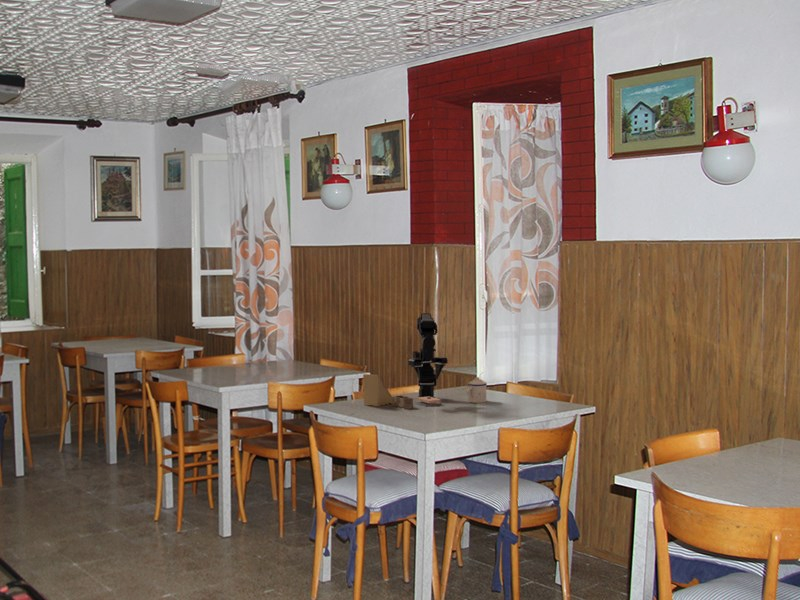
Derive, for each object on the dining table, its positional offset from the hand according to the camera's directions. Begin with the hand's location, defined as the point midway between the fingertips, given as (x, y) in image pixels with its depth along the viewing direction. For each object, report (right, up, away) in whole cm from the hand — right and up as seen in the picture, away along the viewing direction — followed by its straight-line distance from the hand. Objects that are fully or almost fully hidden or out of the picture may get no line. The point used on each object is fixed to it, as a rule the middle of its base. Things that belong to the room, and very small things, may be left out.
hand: (428, 379), depth 429 cm
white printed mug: (+23, -11, +5) cm, 26 cm away
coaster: (0, -12, +1) cm, 12 cm away
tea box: (-12, -12, -6) cm, 18 cm away
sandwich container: (-23, -12, +4) cm, 26 cm away
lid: (0, -10, +1) cm, 10 cm away
